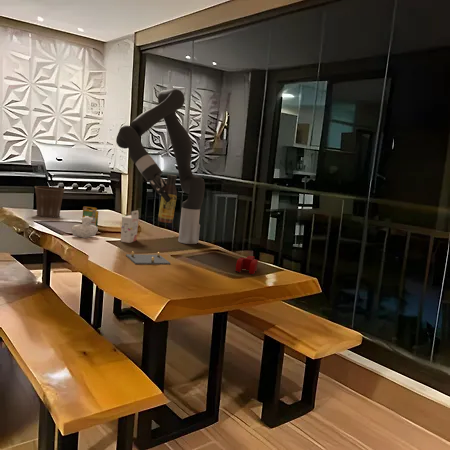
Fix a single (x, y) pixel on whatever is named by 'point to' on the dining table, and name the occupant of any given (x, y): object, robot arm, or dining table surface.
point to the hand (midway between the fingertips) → (172, 200)
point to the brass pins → (152, 257)
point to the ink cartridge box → (129, 227)
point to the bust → (84, 228)
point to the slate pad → (147, 259)
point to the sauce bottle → (169, 207)
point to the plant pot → (48, 200)
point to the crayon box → (91, 215)
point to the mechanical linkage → (247, 264)
